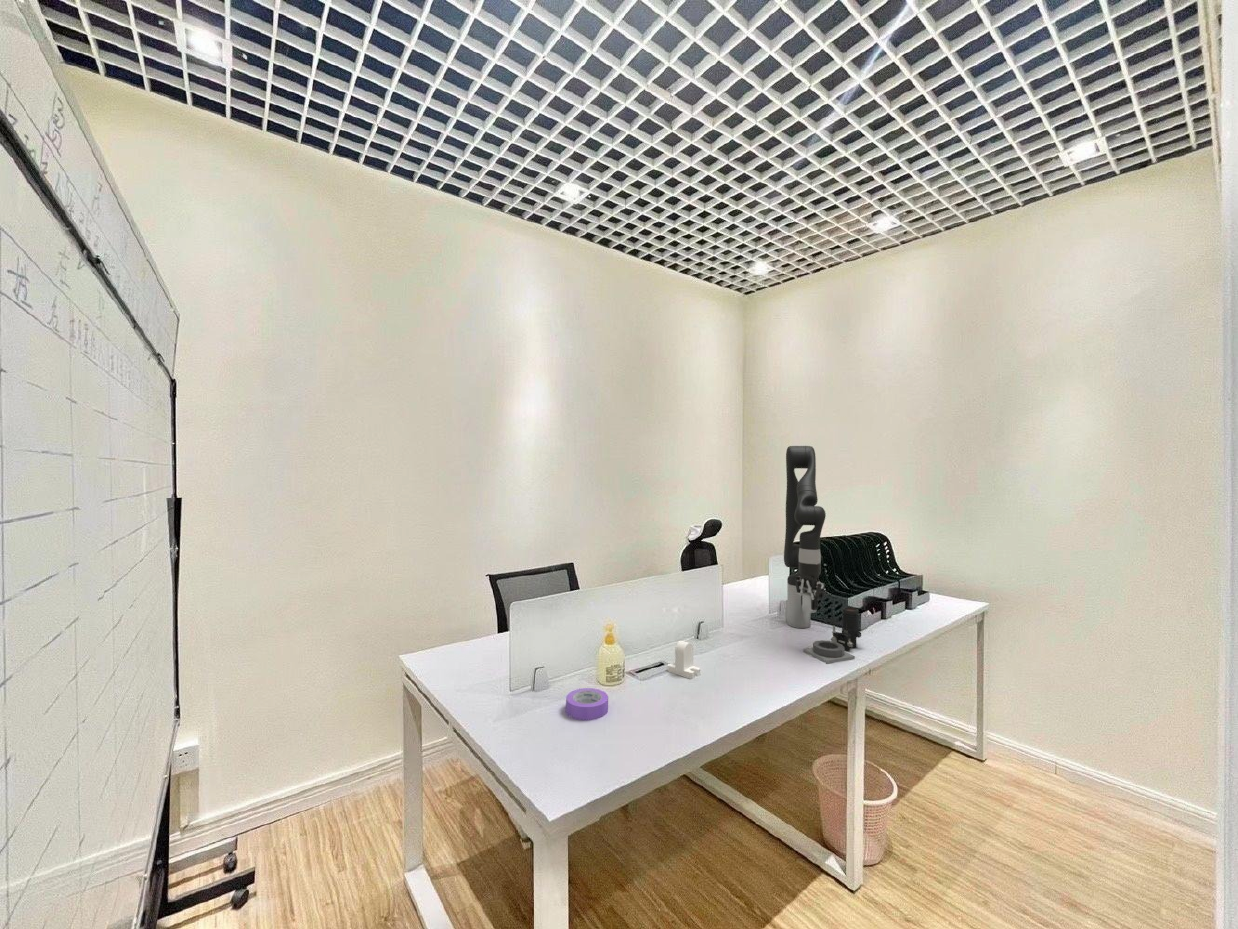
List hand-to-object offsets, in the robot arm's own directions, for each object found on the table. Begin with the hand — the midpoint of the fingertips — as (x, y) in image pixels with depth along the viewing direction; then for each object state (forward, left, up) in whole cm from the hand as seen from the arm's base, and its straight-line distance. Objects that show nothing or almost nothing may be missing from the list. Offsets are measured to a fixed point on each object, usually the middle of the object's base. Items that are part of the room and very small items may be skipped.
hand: (809, 607), depth 189 cm
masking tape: (+14, -89, -16) cm, 91 cm away
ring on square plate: (+6, +3, -16) cm, 17 cm away
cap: (0, 0, -1) cm, 1 cm away
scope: (+2, +16, -16) cm, 23 cm away
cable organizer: (+1, -52, -16) cm, 54 cm away
